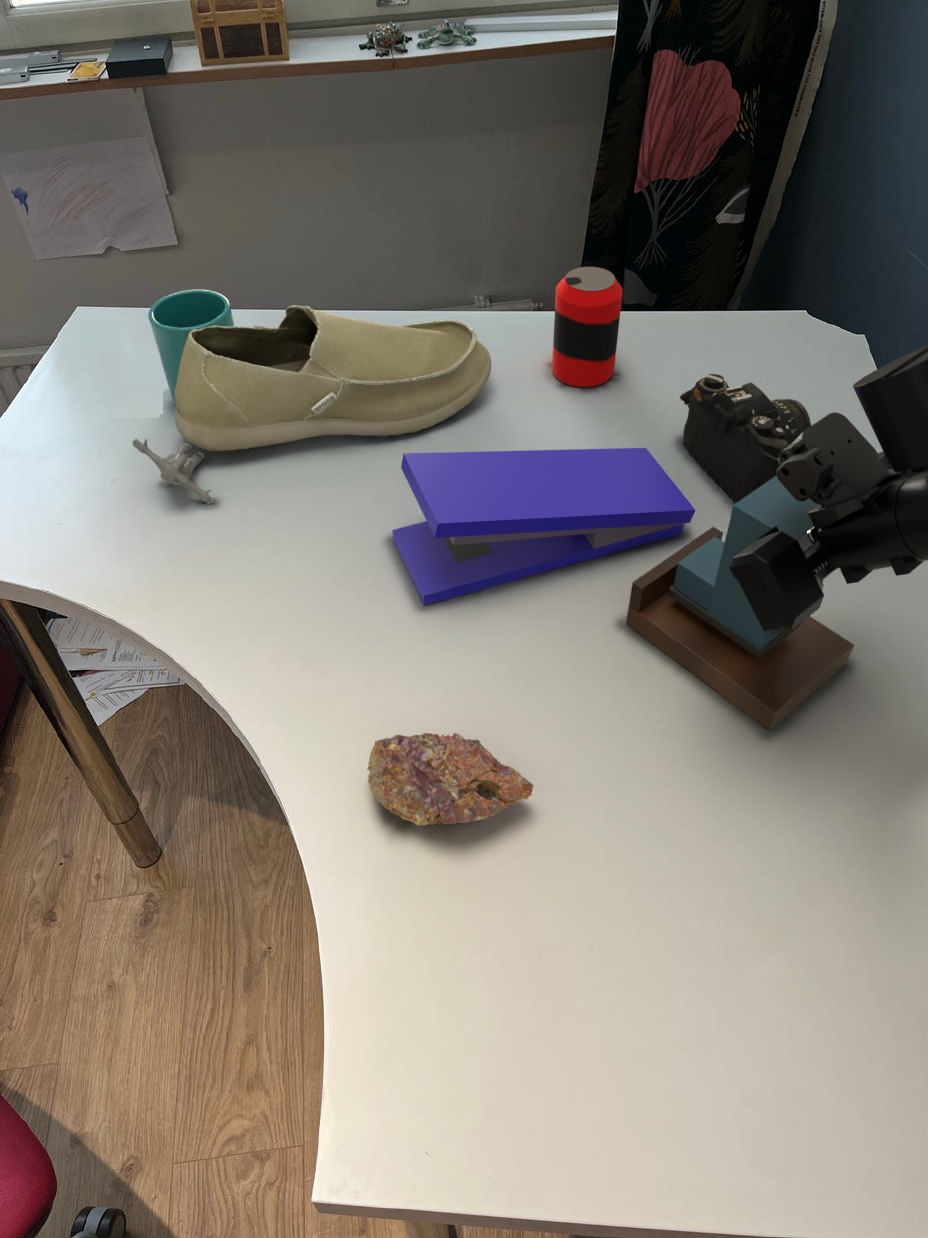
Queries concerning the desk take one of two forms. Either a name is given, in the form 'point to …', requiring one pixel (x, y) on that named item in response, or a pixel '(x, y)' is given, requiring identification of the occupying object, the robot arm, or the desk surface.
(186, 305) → the cup
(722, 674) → the brown lipped tray
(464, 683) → the desk surface
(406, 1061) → the desk surface
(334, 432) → the loafer
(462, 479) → the stapler
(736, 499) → the film camera
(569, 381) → the soda can
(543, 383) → the desk surface
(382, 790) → the mineral specimen
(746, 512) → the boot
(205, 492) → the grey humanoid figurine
